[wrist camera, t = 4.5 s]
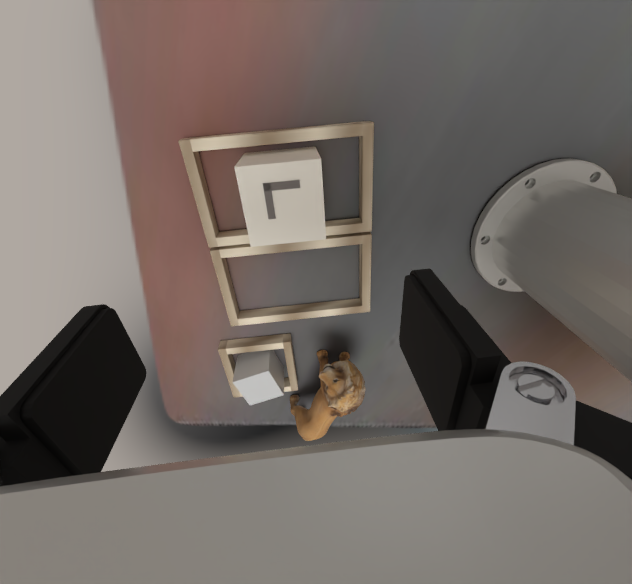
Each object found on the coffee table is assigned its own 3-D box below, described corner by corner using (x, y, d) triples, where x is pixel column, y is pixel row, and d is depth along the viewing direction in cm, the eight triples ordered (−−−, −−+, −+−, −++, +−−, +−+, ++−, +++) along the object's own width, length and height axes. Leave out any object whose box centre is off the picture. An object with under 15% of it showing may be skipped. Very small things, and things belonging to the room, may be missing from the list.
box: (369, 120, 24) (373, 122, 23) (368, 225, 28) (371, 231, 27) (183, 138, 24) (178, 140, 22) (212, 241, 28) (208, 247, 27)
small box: (290, 333, 34) (290, 341, 33) (297, 381, 38) (298, 390, 37) (220, 340, 34) (218, 349, 33) (235, 387, 38) (233, 397, 37)
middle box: (368, 228, 28) (371, 234, 27) (367, 303, 33) (369, 311, 32) (212, 244, 28) (209, 250, 27) (233, 317, 33) (231, 326, 31)
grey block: (270, 344, 35) (268, 370, 32) (284, 367, 37) (283, 395, 34) (237, 354, 36) (232, 382, 32) (253, 377, 38) (249, 405, 34)
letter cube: (315, 146, 25) (321, 159, 20) (320, 214, 28) (326, 239, 23) (244, 152, 24) (234, 167, 20) (257, 220, 27) (250, 247, 23)
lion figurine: (317, 321, 34) (325, 387, 26) (363, 330, 35) (384, 396, 27) (284, 408, 41) (283, 479, 34) (323, 413, 42) (330, 483, 35)
